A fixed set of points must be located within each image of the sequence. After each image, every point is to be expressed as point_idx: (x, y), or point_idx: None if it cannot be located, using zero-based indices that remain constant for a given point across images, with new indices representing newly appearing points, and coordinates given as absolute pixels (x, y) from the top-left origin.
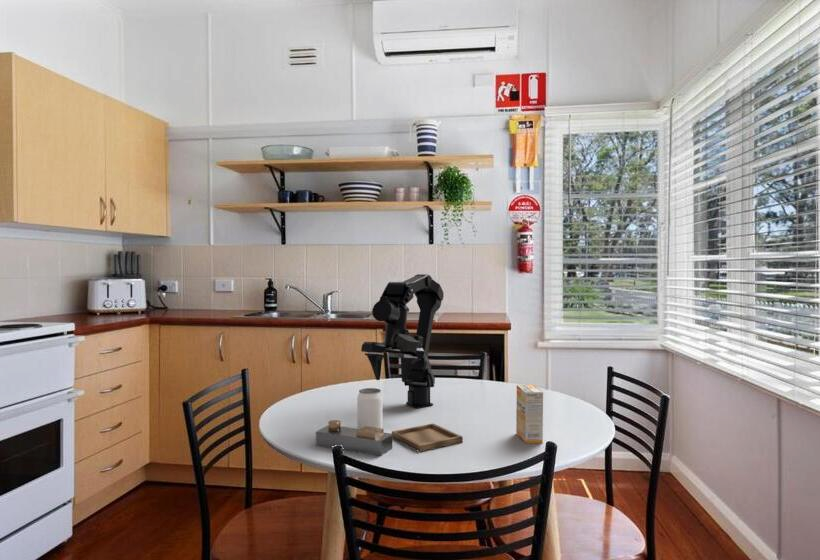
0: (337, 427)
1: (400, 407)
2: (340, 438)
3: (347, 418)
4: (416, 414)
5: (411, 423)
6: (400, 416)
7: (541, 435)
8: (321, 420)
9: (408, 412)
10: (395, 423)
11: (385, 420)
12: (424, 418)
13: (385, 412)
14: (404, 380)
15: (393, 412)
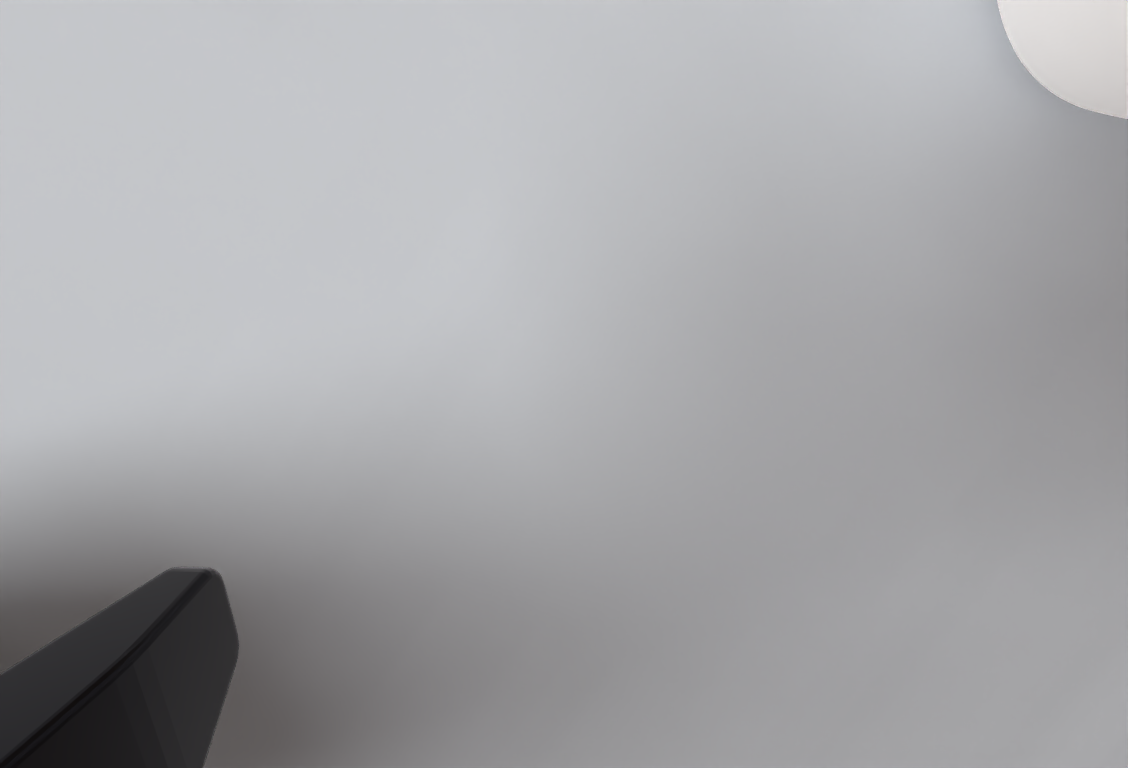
0: None
1: None
2: None
3: (855, 695)
4: (23, 412)
5: (324, 90)
6: (282, 453)
7: None
8: (1091, 759)
9: (84, 543)
10: (521, 228)
11: (553, 413)
12: (6, 183)
13: (360, 682)
14: (197, 589)
15: (269, 636)
